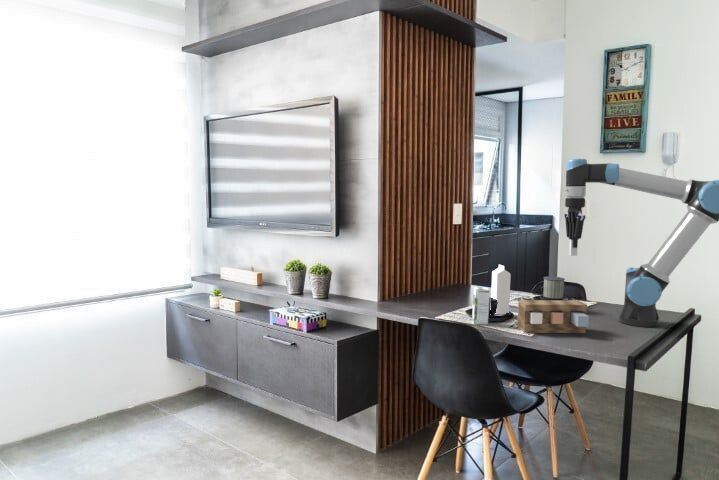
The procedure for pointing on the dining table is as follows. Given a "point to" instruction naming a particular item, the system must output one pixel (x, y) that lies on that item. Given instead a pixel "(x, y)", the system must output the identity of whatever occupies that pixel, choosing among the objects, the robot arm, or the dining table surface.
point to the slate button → (579, 319)
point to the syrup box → (480, 305)
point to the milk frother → (553, 288)
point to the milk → (501, 289)
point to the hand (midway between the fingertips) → (573, 255)
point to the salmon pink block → (556, 317)
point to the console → (545, 309)
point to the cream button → (535, 317)
